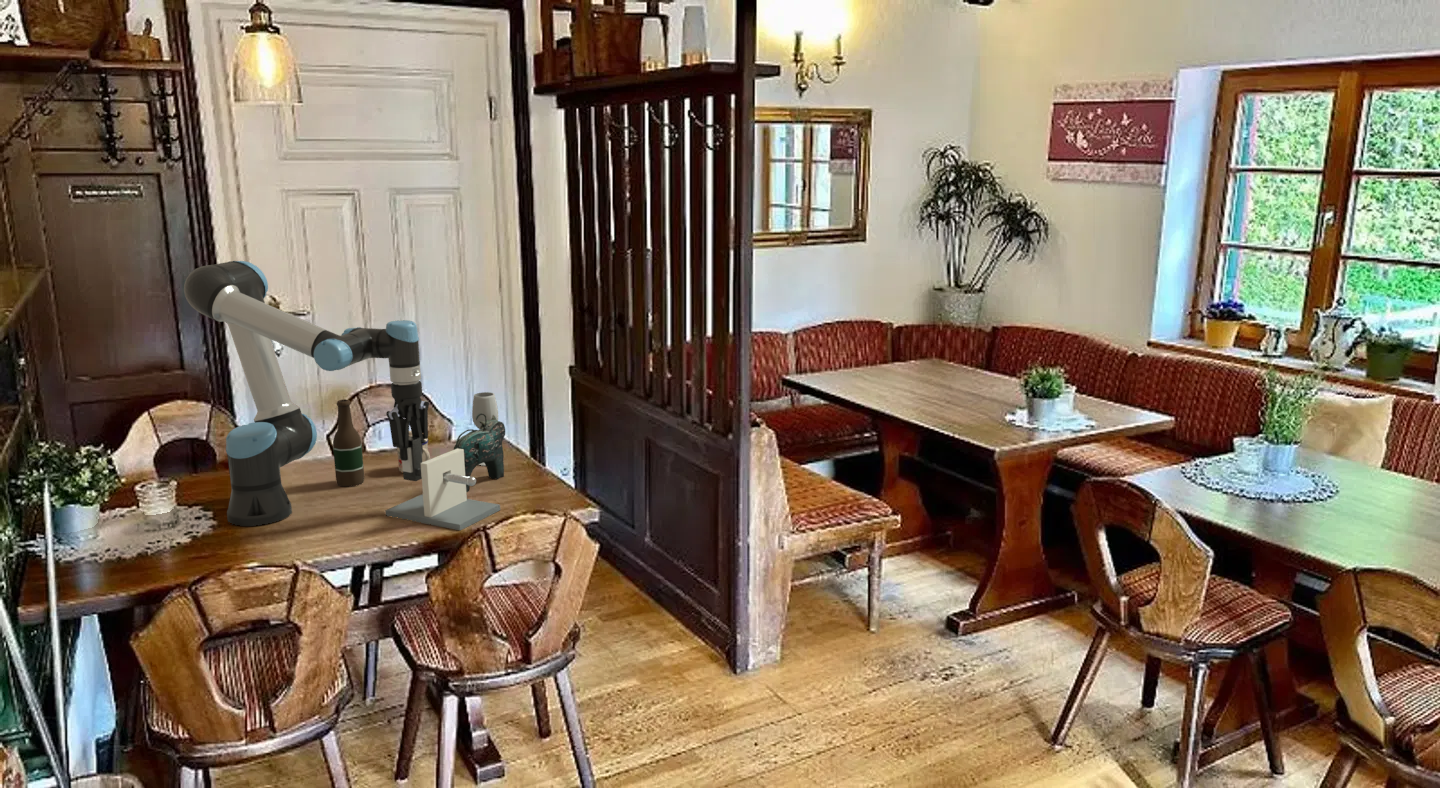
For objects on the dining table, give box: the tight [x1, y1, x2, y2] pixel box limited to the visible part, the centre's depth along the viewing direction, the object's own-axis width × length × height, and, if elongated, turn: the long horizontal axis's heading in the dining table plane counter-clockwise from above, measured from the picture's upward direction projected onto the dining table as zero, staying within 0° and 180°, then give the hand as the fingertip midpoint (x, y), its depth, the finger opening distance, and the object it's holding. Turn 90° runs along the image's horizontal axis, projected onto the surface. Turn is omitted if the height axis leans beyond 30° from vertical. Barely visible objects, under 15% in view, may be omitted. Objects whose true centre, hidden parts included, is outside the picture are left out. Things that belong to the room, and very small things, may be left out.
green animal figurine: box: [453, 413, 506, 493], centre depth 282 cm, size 20×6×20 cm, turn 152°
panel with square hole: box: [385, 448, 501, 531], centre depth 260 cm, size 16×24×16 cm, turn 65°
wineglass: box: [471, 391, 499, 467], centre depth 301 cm, size 8×8×21 cm
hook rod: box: [402, 436, 477, 487], centre depth 258 cm, size 3×22×11 cm, turn 65°
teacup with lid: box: [396, 430, 431, 473], centre depth 295 cm, size 12×9×12 cm
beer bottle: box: [332, 399, 365, 488], centre depth 283 cm, size 8×8×24 cm
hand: (412, 469), depth 263 cm, fingers closed on hook rod, 3 cm apart
